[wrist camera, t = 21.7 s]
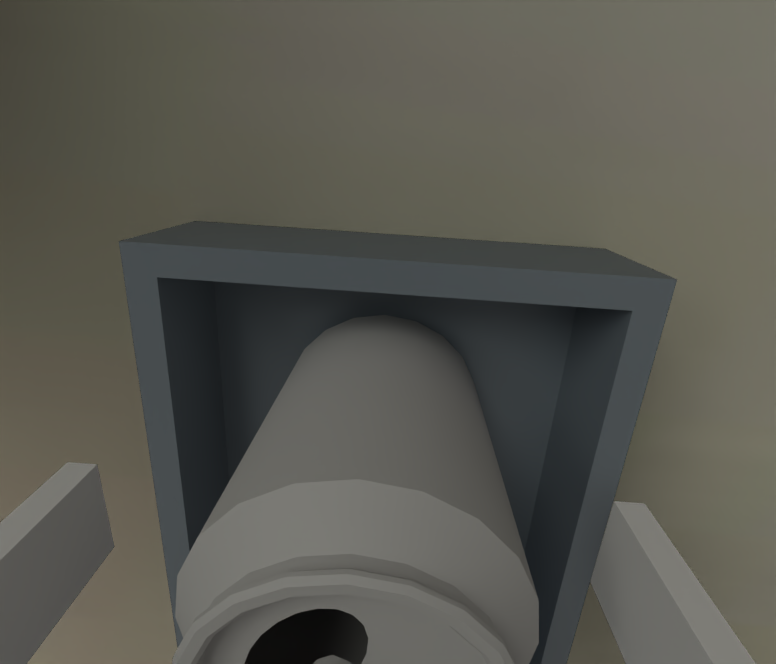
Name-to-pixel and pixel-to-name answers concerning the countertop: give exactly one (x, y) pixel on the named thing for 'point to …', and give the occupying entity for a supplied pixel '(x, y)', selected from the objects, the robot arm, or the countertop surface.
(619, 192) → the countertop surface
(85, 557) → the robot arm
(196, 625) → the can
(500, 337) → the tote
